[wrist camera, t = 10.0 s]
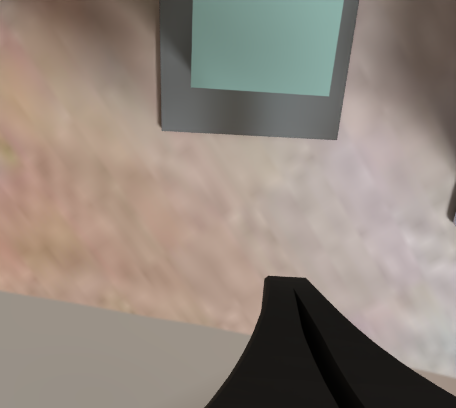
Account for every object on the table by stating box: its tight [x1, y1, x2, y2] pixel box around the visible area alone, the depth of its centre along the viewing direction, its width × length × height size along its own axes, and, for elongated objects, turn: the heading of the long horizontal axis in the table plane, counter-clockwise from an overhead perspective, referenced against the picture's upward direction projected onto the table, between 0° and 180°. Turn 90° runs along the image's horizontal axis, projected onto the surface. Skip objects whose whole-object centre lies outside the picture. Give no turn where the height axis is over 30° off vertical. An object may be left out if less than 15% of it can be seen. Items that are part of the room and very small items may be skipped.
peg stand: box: [160, 0, 359, 140], centre depth 15 cm, size 10×10×5 cm
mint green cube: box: [191, 0, 344, 96], centre depth 14 cm, size 5×5×6 cm
